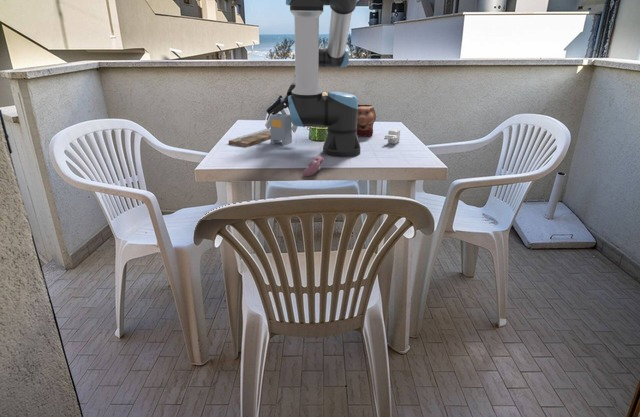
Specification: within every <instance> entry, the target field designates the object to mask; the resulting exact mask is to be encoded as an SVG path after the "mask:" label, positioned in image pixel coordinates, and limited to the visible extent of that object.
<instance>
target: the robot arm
mask: <svg viewBox="0 0 640 417" xmlns="http://www.w3.org/2000/svg"><path fill="white" fill-rule="evenodd" d="M357 2H358V0H285V4H286V6H289V12H290V13H291V15H293V17H294V66H295V67H294V69H295V70H294V71H295V74H294V76H293V79H292V81H291V83H290V85H289V88H288V90H287V92H286V96H282V94H281V95H279V96H278V98H277V99H276V100H275V101H274V102H273V103H272V104H271V105H270V106H269V107H268V108H267V109H266V113H267V118H266V122H265V124H264V126H265V129H270V116H271V115H274V114H279V113H280V112H281V111H283V110H284V109H287V108H289V115H290V117H291V122H292V128H291V129H292V133H295V134H296V131H297V130H298V127H299V128H301V127H302V128H305V127H307V128H311V127H313V128H315V127H327V130H326V132H327V133H326V136H325V138H324V142H323V145H322V153H323V154H324V155H327V156H329V157H334V158H336V157H337V158H348V157H356V156H359V155H360V154H361V144H360V140H359V138H358V137H359V136H357V113H358V105H359V104H358V102H359V101H358V97H357V95H355V94H352V93H347V92H340V91H328V92H327V95H323V90H322V89H321V88H320V87H319V68H338V69H340V68H346V67H348V65H349V60H350V51H349V49H348V48H347V44H348V43H347V42H348V36H349V32H350V25H351V20H352V13H353V12H354V11H355V10H356V7H357ZM325 6H329V7H330V9H331V12H330V21H329V29H328V30H329V32H328V39H327V48H320V44H319V43H320V36H319V34H320V30H319V29H320V16H321V15H322V14H323V12H324V7H325Z"/></svg>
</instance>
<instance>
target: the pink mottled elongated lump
mask: <svg viewBox="0 0 640 417" xmlns="http://www.w3.org/2000/svg"><path fill="white" fill-rule="evenodd" d="M324 160H325V158H324V157H323V156H320V155H318V156H314V157H313V159H312V161H311V162H309V164H307V168H305V169H304V170H303V171H302V175H303V177H309V176H312V175H314V176H315V175H316V173H317V172H318V171H320V170H321V165H322V164H323V163H324Z"/></svg>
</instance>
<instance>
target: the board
mask: <svg viewBox="0 0 640 417" xmlns="http://www.w3.org/2000/svg"><path fill="white" fill-rule="evenodd" d="M237 138H238V137H236V138H233V139H229V140H228V145H233V146H239V147H245V148H248V147H251V146H254V145H257V144H259V143H262V142H266V141H268V140H271V133H268V134H265V135H261V136H258V137H255V138H252V139H249V140H246V141H243V142H239V141H237Z"/></svg>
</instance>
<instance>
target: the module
mask: <svg viewBox="0 0 640 417" xmlns="http://www.w3.org/2000/svg"><path fill="white" fill-rule="evenodd" d="M292 126H293V124H292V122H291V117H290V114H285V113H284V114H283V113H277V114H274V115H271V116H270V128H269V129H270V133H271V139H270V144H272V145H273V144H277V143H280V142H281V146H287V145H289V144H292V142H293V131H292V129H291V128H292Z"/></svg>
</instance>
